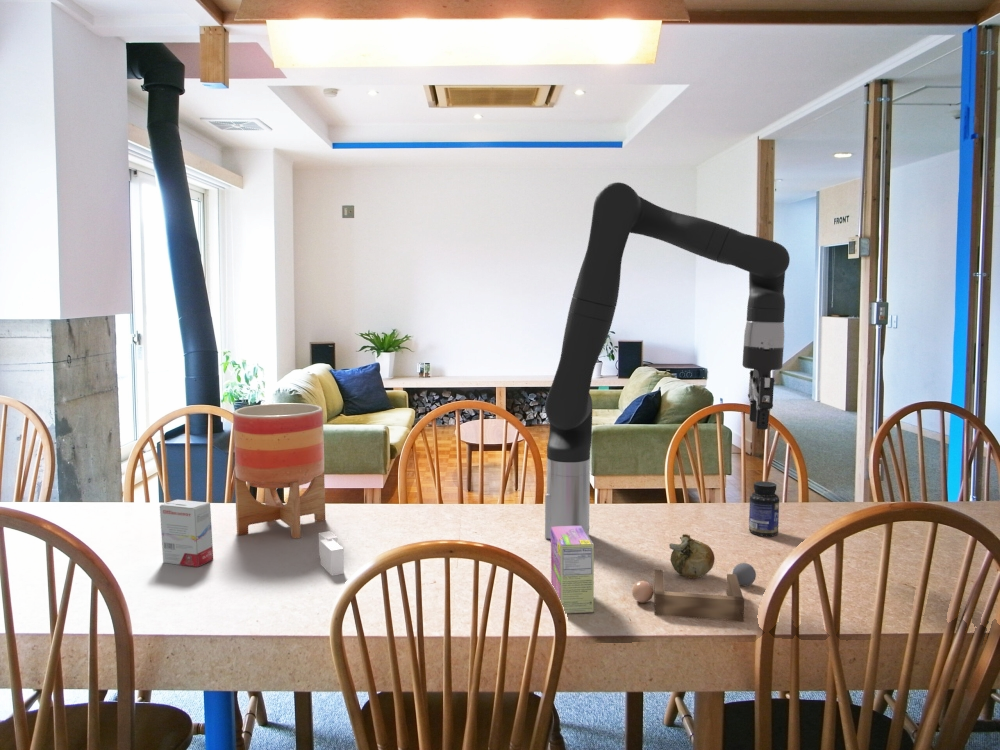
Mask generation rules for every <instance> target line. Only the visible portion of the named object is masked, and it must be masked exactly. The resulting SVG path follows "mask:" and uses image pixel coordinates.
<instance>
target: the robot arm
mask: <svg viewBox="0 0 1000 750" xmlns="http://www.w3.org/2000/svg"><path fill="white" fill-rule="evenodd" d="M592 207H593V208H592V218H591V224H590V230H589V231H590V232H589V237H588V241H587V242H588V244H587V248H586V251H585V255H584V258H583V261H582V264H581V266H580V270H579V273H578V276H577V279H576V283H575V286H574V290H573V293H572V297H571V300H570V305H569V309H568V313H567V319H566V324H565V328H564V335H563V339H562V346H561V353H560V358H559V362H558V366H557V368H556V371H555V374H554V376H553V377H554V378H553V380H552V383H551V385H550V388H549V391H548V393H547V396H546V399H545V403H544V411H545V415H546V418H547V419H548V421H549V434H548V435H549V436H548V441H547V445H546V446H547V447H546V493H545V496H544V497H545V498H544V500H545V501H544V502H545V503H544V538H545V539H549V540H551V527H556V526H582V528H583V529H584V530H585V532H586V534H587V535H588V537H589V538H590V505H591V504H590V489H591V485H590V483H591V482H590V481H591V472H590V471H591V446H592V440H593V439H592V436H593V433H592V432H593V400H592V397H591V394H590V393H591V392H590V390H591V385H592V380H593V374H594V370H595V367H596V365H597V362H598V359H599V357H600V355H601V352H602V350H603V348H604V346H605V343H606V340H607V338H608V335H609V333H610V330H611V326H612V324H613V320H614V317H615V316H614V315H615V311H616V307H617V305H618V299H619V292H620V284H621V270H622V262H623V261H622V260H623V255H624V251H625V248H626V245H627V242H628V238H629V235H630V234H636V235H640V236H644V237H649V238H653V239H655V240H659V241H661V242H664V243H668V244H670V245H672V246H675V247H677V248H680V249H682V250H684V251H687V252H689V253H692V254H694V255H697V256H699V257H701V258H702V257H703V258H706V259H707V260H711V261H713V262H716V263H719V264H723V265H727V266H728V265H730V266H734V267H735V268H738V269H741V270H743V271H746V272H748V273H749V274H748V278H749V279H748V283H749V284H748V286H749V287H748V288H749V289H748V290H749V295H748V300H747V310H746V322H745V329H744V335H743V350H742V351H743V353H742V367H743V368H745V369H749V371H750V372H749V383H748V393H747V397H748V401H749V403H750V404H749V418H748V419H749V421H750V422H752V423H753V422H754V423H755V428H756V429H757V430H763V431H764V430H768V429H769V420H770V419H769V418H770V411H771V410H772V409H773V407H774V403H773V402H774V391H775V390H774V385H775V377H771V371H779V370H781V369H783V363H784V362H783V361H784V349H785V348H784V347H785V311H786V300H785V294H784V289H785V279H786V277H785V276H786V271H787V269H788V268H789V265H790V254H789V252H788V249H786V247H785V246H783V245H782V244H781V243H778V242H776V241H773V240H770V239H766V238H763V237H760V236H755V235H751V234H747V233H744V232H741V231H739V230H737V229H734V228H732V227H728V226H725V225H723V224H720V223H717V222H714V221H710V220H708V219H705V218H704V219H703V218H702V217H701V218H700V217H696V216H692V215H689V214H688V215H687V214H684V213H679V212H677V211H676V212H675V211H672V210H670V209H666V208H664V207H661V206H658V205H656V204H654V203H653V202H651V201H649V200H647V199H645V198H643V197H642V196H640V195H638V193H637V192H636V190H635V189H633V188H632V187H631V186H630V185H628V184H626V183H624V182H612V183H609V184H606V185H604V187H602V188H601V190H600V191H599V192H598V193H597V196H596V197H595V199H594V202H593V206H592Z"/></svg>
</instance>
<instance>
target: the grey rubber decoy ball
mask: <svg viewBox="0 0 1000 750" xmlns="http://www.w3.org/2000/svg"><path fill="white" fill-rule="evenodd" d="M756 573H757V572H756V569H755V568H754V567H753V566H752V564H749V563H747V562H741V563H737V564H736V565H735V566H734V568H733V570H732V574H736V576H737V579H738V583H739V586H744V587H747V586H750V585H752V584H753V583H754V582H755V580H756V577H757V574H756Z"/></svg>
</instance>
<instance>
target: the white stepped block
mask: <svg viewBox="0 0 1000 750" xmlns="http://www.w3.org/2000/svg"><path fill="white" fill-rule="evenodd" d="M318 550H319V552H318V554H319V558H320V565H321V566H322V567H323V568H324V569H325V571H326V572H327V573H329V574H330V576H332V577H333V576H337V575H342V574H345V561H344V560H345V558H344V556H345V555H344V547H342V546H341V545H340V544H339V541H338V536H336V535H335V534H334V533H333V532H332V531H330V530H329V531H323V532H319V533H318Z"/></svg>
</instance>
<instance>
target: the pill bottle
mask: <svg viewBox="0 0 1000 750" xmlns="http://www.w3.org/2000/svg"><path fill="white" fill-rule="evenodd" d="M753 489H754V492H752V493H751V494H750V495H749V511H748V512H749V513H748V515H749V516H748V518H749V519H748V530H749V532H750V533H751V534H753V535H755V536H760V537H770V538H771V537H776V536H777V535H778V534H779V521H780V520H779V518H780V517H779V516H780V497H779V496H778V494H776V491H777V484H776V483H775V482H772V481H765V480H763V481H761V480H760V481H755V482H753Z"/></svg>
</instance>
